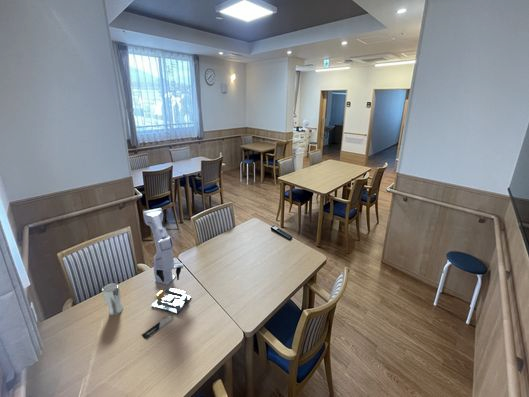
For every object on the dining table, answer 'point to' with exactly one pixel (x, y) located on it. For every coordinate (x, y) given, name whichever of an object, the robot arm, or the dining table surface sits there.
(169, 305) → the heatsink plate
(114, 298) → the beer glass
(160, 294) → the grey orange block
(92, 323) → the dining table surface
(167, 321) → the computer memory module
